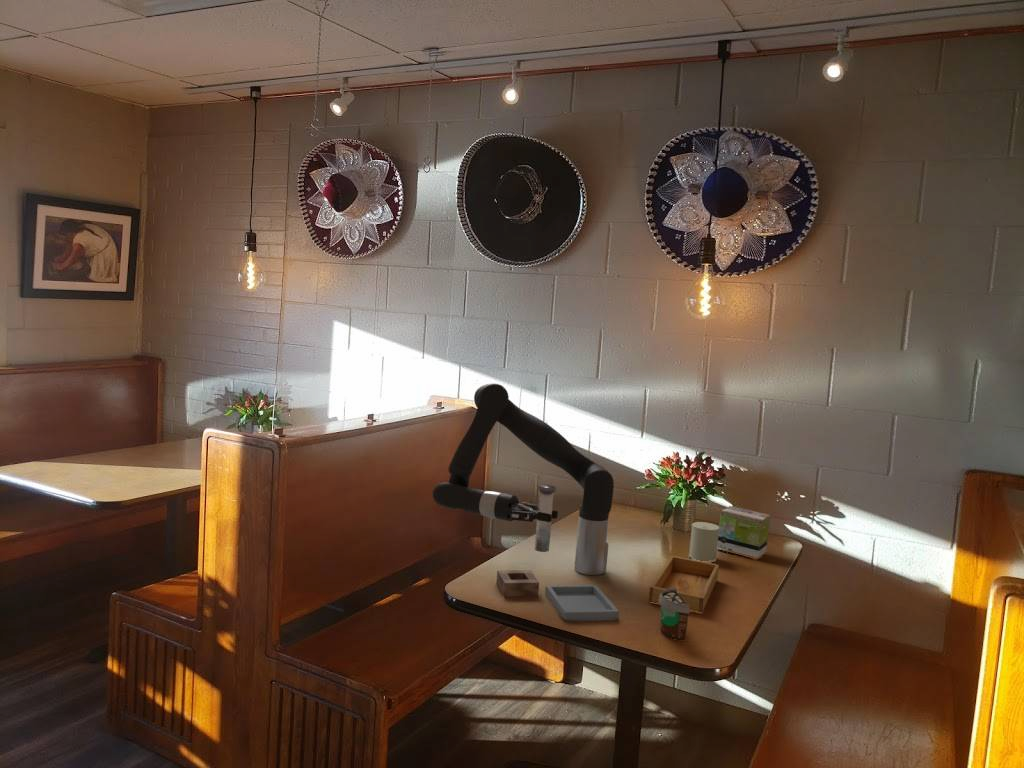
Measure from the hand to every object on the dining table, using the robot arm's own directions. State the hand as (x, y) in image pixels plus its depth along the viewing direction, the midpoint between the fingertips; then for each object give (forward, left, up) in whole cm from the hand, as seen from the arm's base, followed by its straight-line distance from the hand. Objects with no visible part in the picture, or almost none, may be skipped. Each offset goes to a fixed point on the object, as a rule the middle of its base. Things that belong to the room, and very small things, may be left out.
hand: (554, 516), depth 219 cm
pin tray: (-8, +5, -24) cm, 26 cm away
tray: (-44, -4, -25) cm, 51 cm away
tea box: (-82, -39, -24) cm, 94 cm away
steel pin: (+2, -2, -10) cm, 10 cm away
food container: (-26, +23, -24) cm, 42 cm away
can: (-64, -33, -24) cm, 76 cm away
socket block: (+7, -8, -24) cm, 26 cm away
